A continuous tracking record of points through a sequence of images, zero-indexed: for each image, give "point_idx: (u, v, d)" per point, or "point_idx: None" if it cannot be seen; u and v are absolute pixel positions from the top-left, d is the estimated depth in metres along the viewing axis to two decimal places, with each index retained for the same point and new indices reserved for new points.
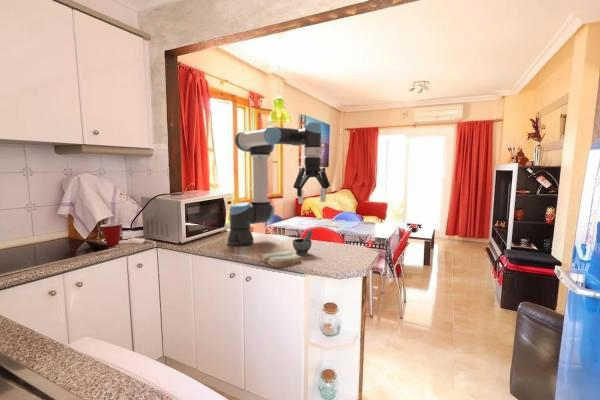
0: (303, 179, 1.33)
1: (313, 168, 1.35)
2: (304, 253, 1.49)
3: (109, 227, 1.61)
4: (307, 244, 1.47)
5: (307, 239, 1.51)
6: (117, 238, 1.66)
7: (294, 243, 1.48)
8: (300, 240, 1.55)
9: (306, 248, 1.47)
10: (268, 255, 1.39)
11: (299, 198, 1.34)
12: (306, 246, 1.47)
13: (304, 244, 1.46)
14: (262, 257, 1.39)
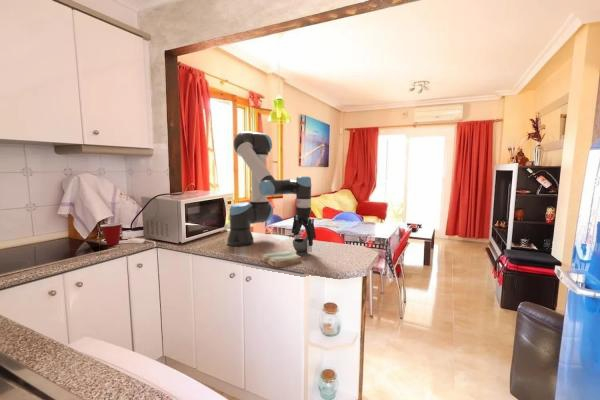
0: None
1: (301, 217, 1.49)
2: (304, 253, 1.49)
3: (109, 227, 1.61)
4: None
5: None
6: (117, 238, 1.66)
7: (294, 243, 1.48)
8: (300, 240, 1.55)
9: (306, 248, 1.47)
10: (268, 255, 1.39)
11: None
12: (306, 246, 1.47)
13: (304, 244, 1.46)
14: (262, 257, 1.39)
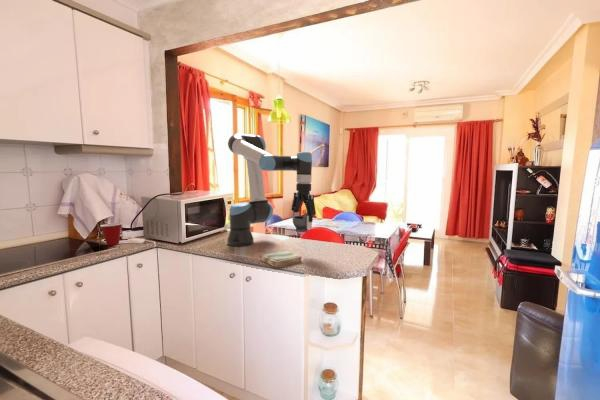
0: None
1: (301, 193, 1.48)
2: (304, 230, 1.48)
3: (109, 227, 1.61)
4: None
5: None
6: (117, 238, 1.66)
7: (294, 219, 1.47)
8: (300, 217, 1.54)
9: (306, 225, 1.46)
10: (268, 255, 1.39)
11: None
12: (306, 222, 1.46)
13: (304, 220, 1.45)
14: (262, 257, 1.39)
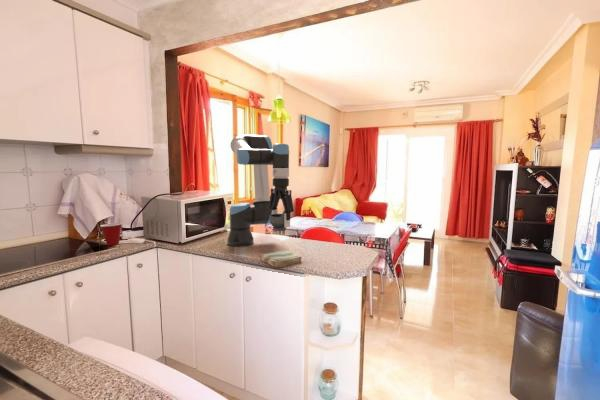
0: None
1: (278, 189, 1.36)
2: (281, 229, 1.35)
3: (109, 227, 1.61)
4: None
5: None
6: (117, 238, 1.66)
7: (270, 217, 1.34)
8: (278, 215, 1.41)
9: (283, 223, 1.34)
10: (268, 255, 1.39)
11: None
12: (283, 221, 1.33)
13: (281, 218, 1.32)
14: (262, 257, 1.39)
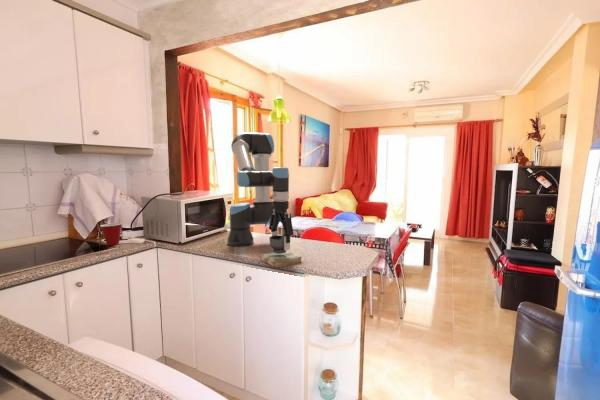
0: None
1: (278, 211, 1.37)
2: (281, 251, 1.36)
3: (109, 227, 1.61)
4: None
5: None
6: (117, 238, 1.66)
7: (270, 240, 1.35)
8: (278, 237, 1.42)
9: (283, 246, 1.35)
10: (268, 255, 1.39)
11: None
12: (283, 243, 1.34)
13: (281, 241, 1.34)
14: (262, 257, 1.39)
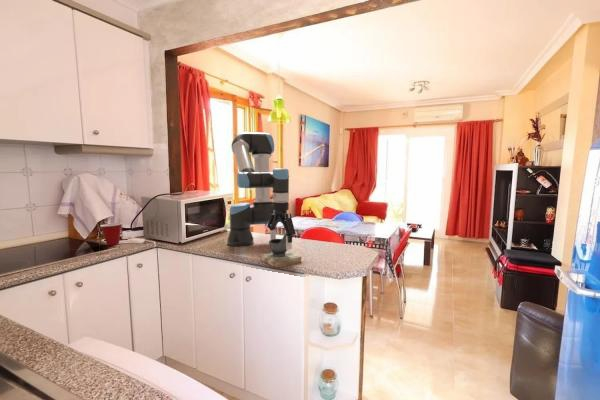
0: None
1: (278, 212, 1.37)
2: (281, 255, 1.37)
3: (109, 227, 1.61)
4: (284, 245, 1.35)
5: (284, 239, 1.39)
6: (117, 238, 1.66)
7: (270, 244, 1.36)
8: (278, 240, 1.43)
9: (283, 249, 1.35)
10: (268, 255, 1.39)
11: None
12: (283, 247, 1.35)
13: (280, 245, 1.34)
14: (262, 257, 1.39)
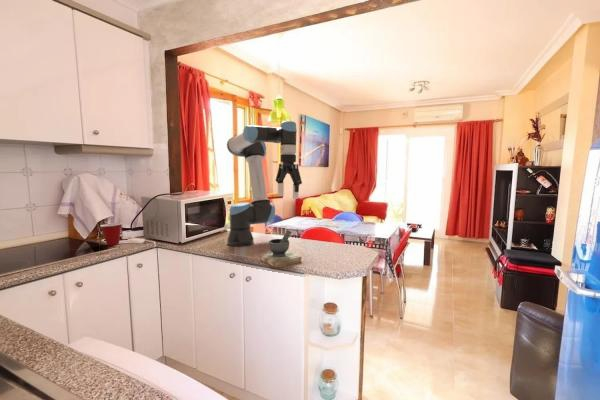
0: None
1: (285, 164, 1.43)
2: (281, 255, 1.37)
3: (109, 227, 1.61)
4: (284, 245, 1.35)
5: (285, 239, 1.39)
6: (117, 238, 1.66)
7: (270, 244, 1.36)
8: (278, 240, 1.43)
9: (283, 249, 1.35)
10: (268, 255, 1.39)
11: None
12: (283, 247, 1.35)
13: (280, 245, 1.34)
14: (262, 257, 1.39)
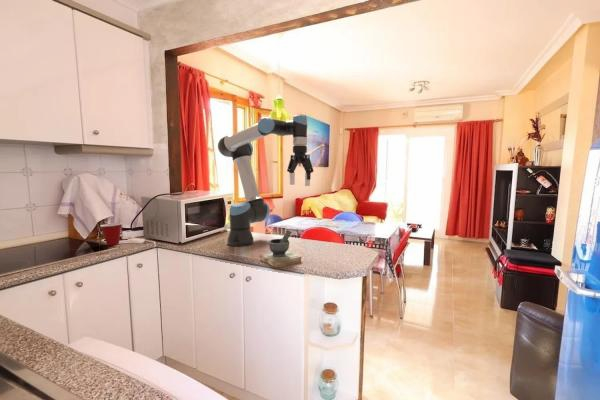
0: None
1: (297, 155, 1.57)
2: (281, 255, 1.37)
3: (109, 227, 1.61)
4: (284, 245, 1.35)
5: (285, 239, 1.39)
6: (117, 238, 1.66)
7: (270, 244, 1.36)
8: (278, 240, 1.43)
9: (283, 249, 1.35)
10: (268, 255, 1.39)
11: None
12: (283, 247, 1.35)
13: (280, 245, 1.34)
14: (262, 257, 1.39)
